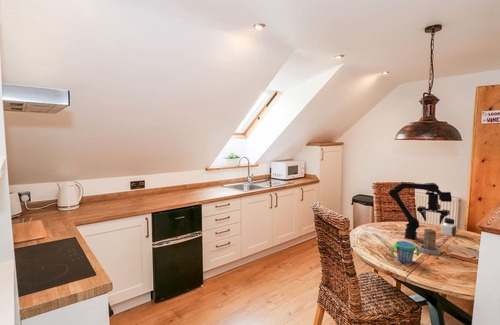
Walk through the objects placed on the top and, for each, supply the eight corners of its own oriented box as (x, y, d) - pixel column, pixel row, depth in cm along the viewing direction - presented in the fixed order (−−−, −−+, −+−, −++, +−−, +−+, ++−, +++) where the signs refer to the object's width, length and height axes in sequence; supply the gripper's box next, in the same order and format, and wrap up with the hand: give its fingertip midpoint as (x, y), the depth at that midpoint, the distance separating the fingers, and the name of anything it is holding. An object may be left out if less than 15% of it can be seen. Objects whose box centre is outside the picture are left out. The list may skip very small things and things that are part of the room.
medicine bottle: (451, 236, 203) (452, 220, 202) (441, 233, 209) (442, 218, 208) (456, 234, 207) (457, 218, 206) (445, 231, 213) (446, 216, 212)
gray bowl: (415, 250, 179) (415, 247, 179) (421, 245, 187) (421, 242, 187) (437, 256, 170) (437, 253, 170) (442, 250, 179) (442, 247, 179)
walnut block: (423, 248, 181) (424, 229, 180) (430, 248, 181) (431, 229, 180) (427, 251, 177) (428, 231, 175) (434, 251, 176) (436, 231, 175)
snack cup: (414, 257, 170) (415, 241, 169) (422, 265, 159) (423, 248, 158) (387, 256, 172) (388, 240, 171) (394, 263, 162) (394, 247, 161)
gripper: (452, 200, 191) (452, 222, 192) (422, 197, 206) (422, 217, 207) (447, 203, 184) (447, 226, 185) (416, 199, 199) (416, 220, 200)
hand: (432, 222), depth 195 cm, fingers open, 9 cm apart
